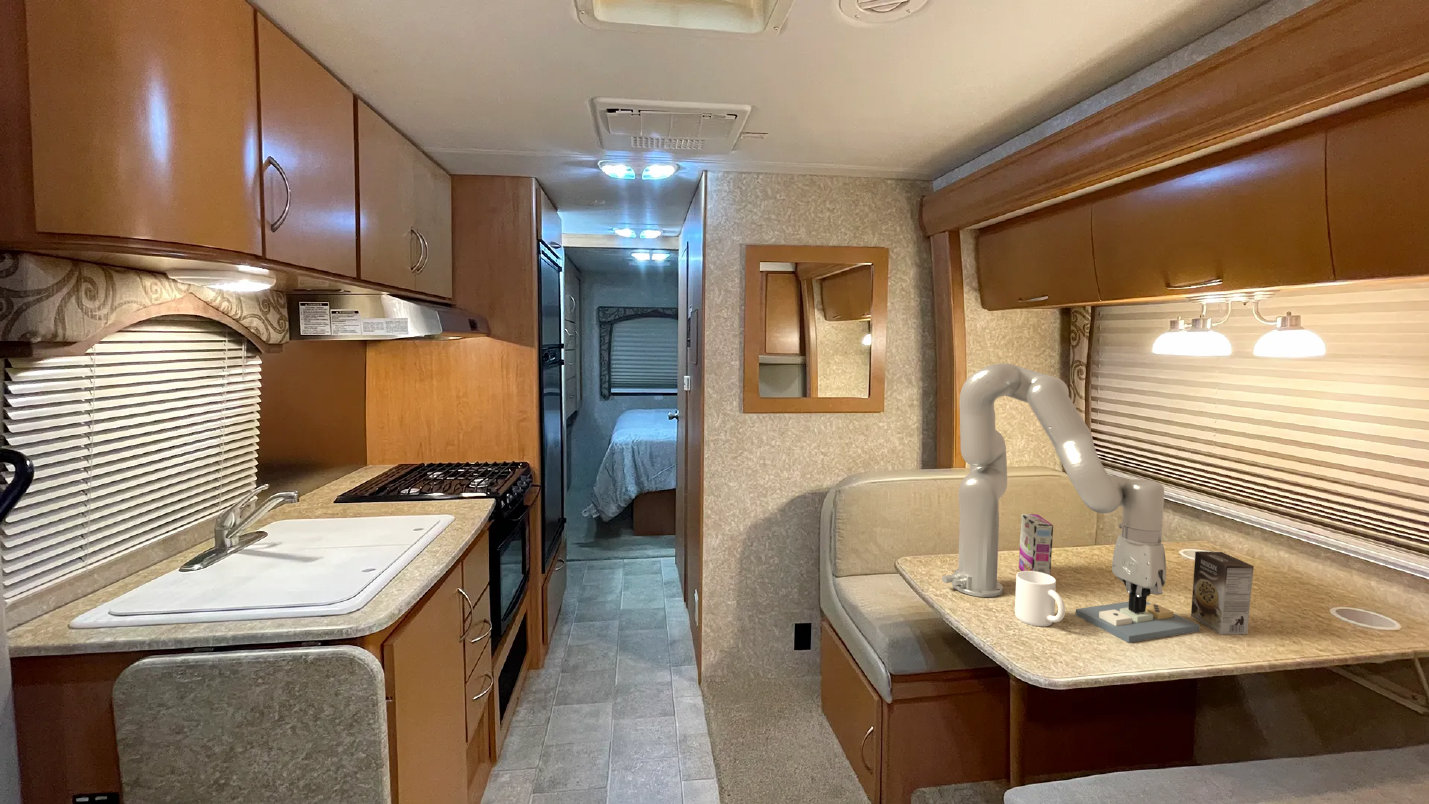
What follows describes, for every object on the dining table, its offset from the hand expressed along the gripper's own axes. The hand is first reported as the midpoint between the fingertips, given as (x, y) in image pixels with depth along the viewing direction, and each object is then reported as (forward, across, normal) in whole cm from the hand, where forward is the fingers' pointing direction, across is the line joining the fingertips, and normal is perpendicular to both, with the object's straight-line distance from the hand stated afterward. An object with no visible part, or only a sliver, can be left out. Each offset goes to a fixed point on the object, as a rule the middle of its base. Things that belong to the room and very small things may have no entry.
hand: (1136, 610), depth 140 cm
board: (+3, 0, 0) cm, 3 cm away
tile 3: (+2, 0, +6) cm, 6 cm away
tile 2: (+2, 0, 0) cm, 3 cm away
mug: (+3, -6, -21) cm, 22 cm away
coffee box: (+3, +6, +17) cm, 18 cm away
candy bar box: (+3, -30, -1) cm, 30 cm away
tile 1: (+2, 0, -6) cm, 7 cm away
